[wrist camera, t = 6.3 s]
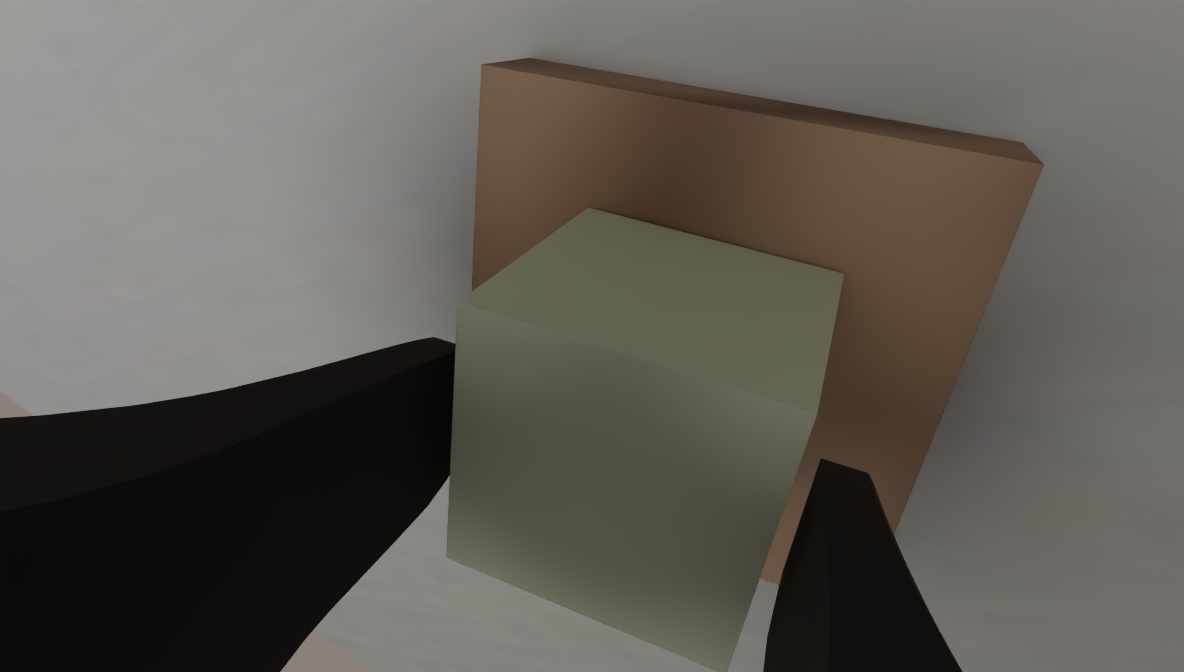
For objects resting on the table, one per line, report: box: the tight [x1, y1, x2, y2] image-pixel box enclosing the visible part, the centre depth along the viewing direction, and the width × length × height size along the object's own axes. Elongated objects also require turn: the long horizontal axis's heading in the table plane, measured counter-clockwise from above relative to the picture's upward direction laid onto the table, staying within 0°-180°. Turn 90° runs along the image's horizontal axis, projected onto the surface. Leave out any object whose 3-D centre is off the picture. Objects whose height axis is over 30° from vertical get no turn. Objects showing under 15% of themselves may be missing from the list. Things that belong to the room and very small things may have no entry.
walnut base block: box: [472, 58, 1044, 584], centre depth 14 cm, size 9×9×2 cm
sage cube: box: [446, 207, 844, 672], centre depth 11 cm, size 4×4×4 cm
